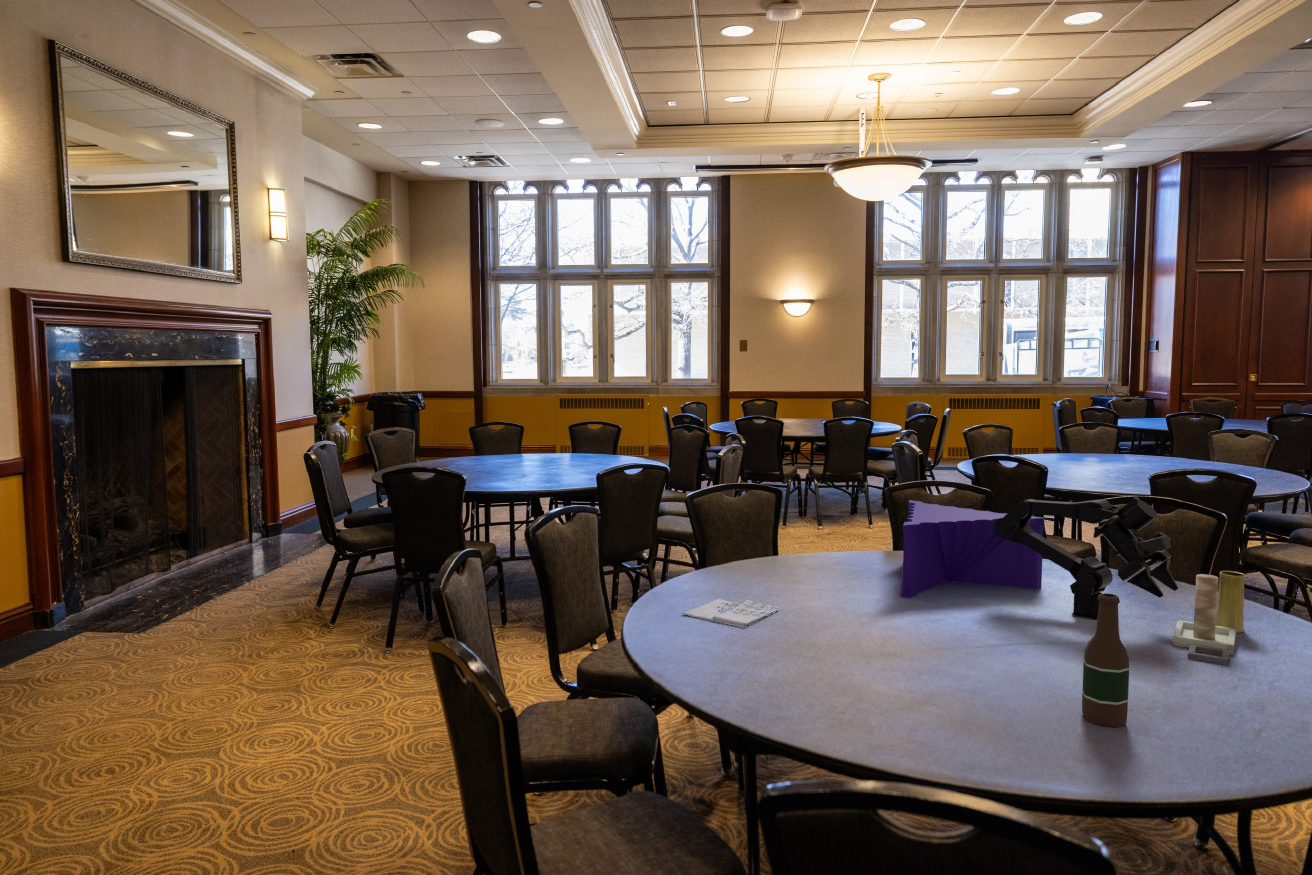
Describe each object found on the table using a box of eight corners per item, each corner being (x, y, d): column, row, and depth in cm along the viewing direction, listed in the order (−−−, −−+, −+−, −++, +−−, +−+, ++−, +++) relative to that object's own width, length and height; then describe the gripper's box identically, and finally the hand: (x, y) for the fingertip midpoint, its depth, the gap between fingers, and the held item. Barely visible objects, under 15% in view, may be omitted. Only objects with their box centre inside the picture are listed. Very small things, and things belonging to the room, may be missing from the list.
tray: (1172, 644, 202) (1172, 635, 202) (1177, 628, 214) (1178, 620, 214) (1233, 654, 195) (1233, 645, 195) (1235, 637, 207) (1235, 628, 207)
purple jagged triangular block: (909, 562, 286) (910, 499, 285) (1043, 588, 253) (1045, 517, 251) (837, 583, 260) (838, 514, 258) (976, 615, 227) (978, 536, 225)
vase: (1248, 633, 209) (1251, 577, 208) (1221, 632, 211) (1224, 575, 209) (1237, 626, 215) (1240, 570, 214) (1210, 624, 217) (1213, 569, 215)
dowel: (1196, 639, 203) (1199, 578, 201) (1190, 634, 207) (1193, 573, 206) (1217, 641, 202) (1221, 579, 200) (1211, 635, 206) (1214, 574, 204)
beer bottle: (1072, 711, 164) (1076, 590, 162) (1110, 710, 165) (1115, 588, 163) (1096, 729, 157) (1101, 601, 154) (1136, 727, 157) (1142, 600, 155)
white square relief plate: (744, 630, 217) (744, 622, 217) (680, 617, 229) (680, 609, 229) (781, 612, 232) (781, 605, 232) (718, 600, 244) (718, 593, 244)
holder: (1187, 658, 193) (1187, 652, 193) (1190, 648, 199) (1190, 643, 199) (1227, 664, 188) (1228, 659, 188) (1229, 655, 195) (1229, 650, 194)
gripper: (1133, 527, 206) (1181, 581, 199) (1164, 518, 218) (1210, 568, 210) (1098, 554, 213) (1143, 606, 206) (1130, 543, 225) (1173, 593, 217)
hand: (1169, 593), depth 210 cm, fingers open, 9 cm apart
